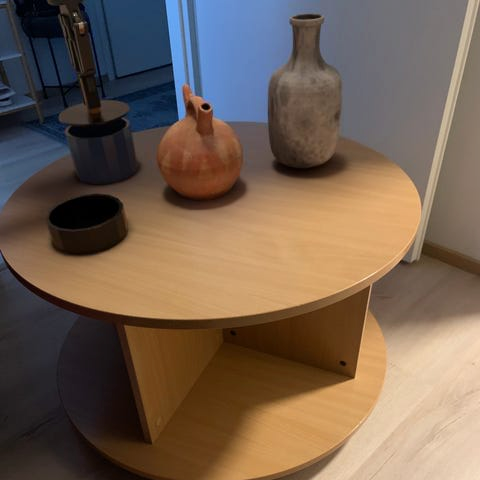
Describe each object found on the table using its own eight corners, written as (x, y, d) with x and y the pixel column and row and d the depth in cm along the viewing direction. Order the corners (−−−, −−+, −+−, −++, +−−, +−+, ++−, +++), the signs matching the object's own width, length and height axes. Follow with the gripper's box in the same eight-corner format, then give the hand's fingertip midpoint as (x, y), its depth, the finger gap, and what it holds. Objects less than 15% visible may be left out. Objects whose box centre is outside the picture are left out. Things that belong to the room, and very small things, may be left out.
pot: (86, 189, 114) (74, 144, 107) (70, 167, 124) (58, 124, 117) (146, 173, 119) (138, 129, 112) (126, 153, 128) (117, 111, 122)
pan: (63, 263, 91) (55, 239, 88) (46, 229, 101) (38, 206, 98) (138, 239, 96) (133, 216, 93) (114, 209, 106) (109, 187, 103)
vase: (273, 181, 112) (272, 28, 92) (264, 153, 124) (261, 12, 105) (345, 174, 112) (358, 21, 93) (328, 147, 125) (337, 6, 105)
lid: (70, 135, 105) (57, 89, 99) (52, 114, 116) (40, 72, 110) (140, 118, 110) (132, 73, 104) (117, 100, 121) (109, 59, 115)
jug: (155, 179, 116) (139, 87, 103) (230, 165, 120) (224, 74, 107) (172, 215, 103) (155, 115, 90) (255, 198, 106) (251, 99, 93)
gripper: (93, -21, 92) (120, 111, 107) (71, -28, 103) (98, 93, 118) (52, -15, 89) (86, 119, 105) (33, -23, 100) (67, 100, 116)
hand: (92, 105), depth 111 cm, fingers closed on lid, 3 cm apart
